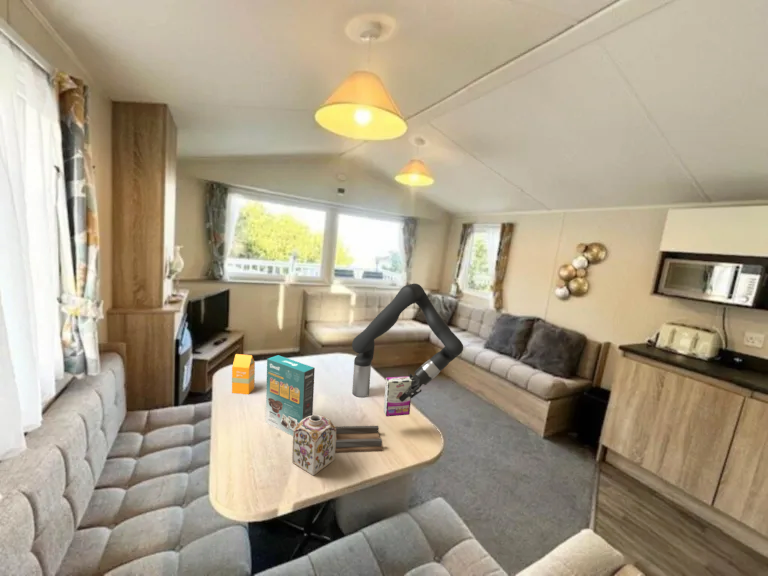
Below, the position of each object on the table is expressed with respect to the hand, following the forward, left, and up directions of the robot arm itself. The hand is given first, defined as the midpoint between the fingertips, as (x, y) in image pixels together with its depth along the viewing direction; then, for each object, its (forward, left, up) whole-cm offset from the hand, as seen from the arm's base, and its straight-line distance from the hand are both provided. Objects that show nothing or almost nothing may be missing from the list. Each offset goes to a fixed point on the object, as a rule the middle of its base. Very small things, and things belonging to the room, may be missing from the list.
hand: (399, 396), depth 150 cm
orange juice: (-40, -75, -16) cm, 86 cm away
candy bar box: (0, -1, -8) cm, 8 cm away
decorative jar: (+19, -36, -16) cm, 44 cm away
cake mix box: (-4, -48, -16) cm, 51 cm away
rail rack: (+7, -19, -16) cm, 26 cm away
